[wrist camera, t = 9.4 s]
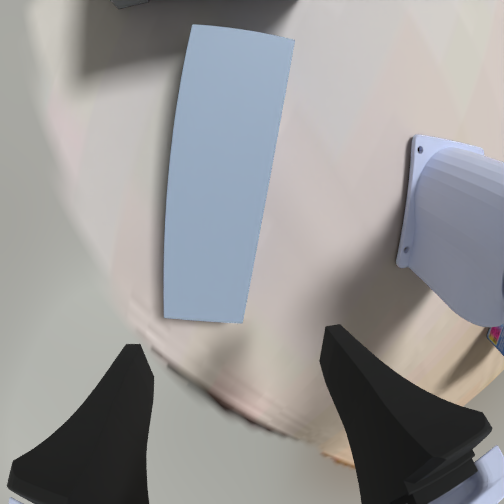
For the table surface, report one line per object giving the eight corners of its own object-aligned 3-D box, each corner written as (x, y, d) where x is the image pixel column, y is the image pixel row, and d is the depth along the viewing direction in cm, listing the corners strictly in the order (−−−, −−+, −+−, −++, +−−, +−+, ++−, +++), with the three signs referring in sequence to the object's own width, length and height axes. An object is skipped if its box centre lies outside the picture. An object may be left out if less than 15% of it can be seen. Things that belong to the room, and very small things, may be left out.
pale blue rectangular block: (237, 293, 19) (242, 323, 16) (169, 288, 18) (164, 317, 15) (280, 53, 12) (295, 40, 10) (196, 41, 11) (192, 24, 9)
